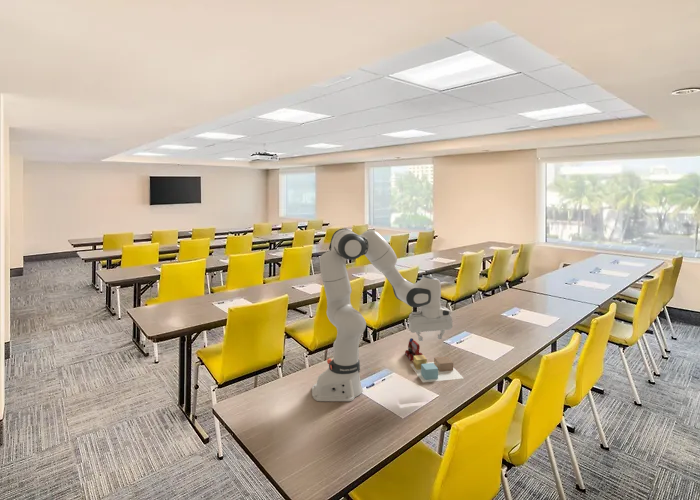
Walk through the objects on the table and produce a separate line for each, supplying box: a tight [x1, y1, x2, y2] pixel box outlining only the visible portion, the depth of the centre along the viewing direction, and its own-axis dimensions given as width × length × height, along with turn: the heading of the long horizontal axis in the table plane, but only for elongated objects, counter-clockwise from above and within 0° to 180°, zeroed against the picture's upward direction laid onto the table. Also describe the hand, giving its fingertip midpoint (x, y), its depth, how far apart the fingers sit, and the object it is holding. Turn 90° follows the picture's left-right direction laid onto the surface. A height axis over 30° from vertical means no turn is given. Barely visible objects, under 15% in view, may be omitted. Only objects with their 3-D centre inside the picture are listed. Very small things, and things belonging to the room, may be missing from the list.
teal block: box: [421, 363, 438, 380], centre depth 181 cm, size 6×6×5 cm
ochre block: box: [412, 354, 428, 370], centre depth 191 cm, size 5×5×5 cm
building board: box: [409, 356, 464, 384], centre depth 186 cm, size 20×19×5 cm
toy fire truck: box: [404, 338, 424, 362], centre depth 202 cm, size 7×12×10 cm, turn 12°
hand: (430, 339), depth 179 cm, fingers open, 8 cm apart
